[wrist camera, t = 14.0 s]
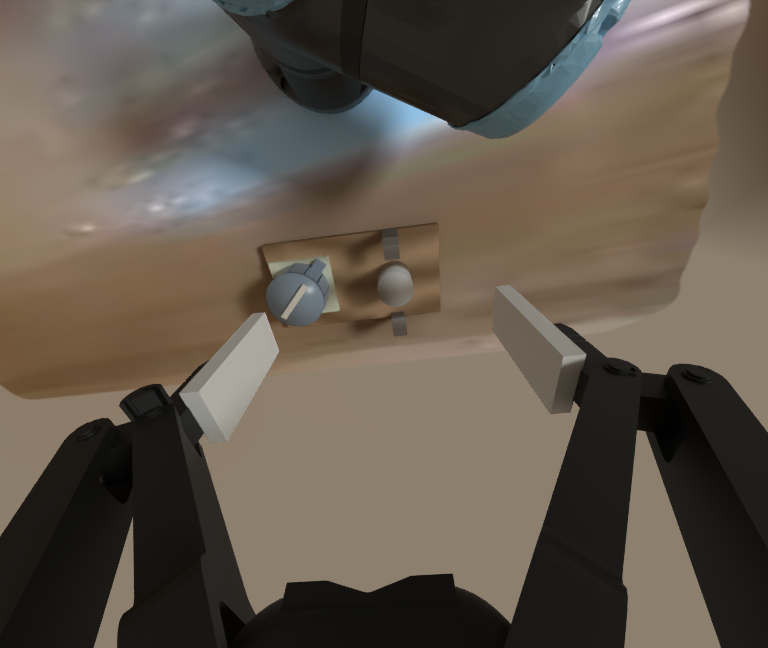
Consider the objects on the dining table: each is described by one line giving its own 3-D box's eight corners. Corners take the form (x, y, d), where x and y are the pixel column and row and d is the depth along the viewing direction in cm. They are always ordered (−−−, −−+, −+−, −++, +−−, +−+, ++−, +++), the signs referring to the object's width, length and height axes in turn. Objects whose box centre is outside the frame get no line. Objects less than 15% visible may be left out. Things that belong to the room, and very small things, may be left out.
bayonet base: (263, 242, 42) (242, 255, 36) (436, 221, 41) (446, 230, 34) (290, 325, 49) (276, 348, 43) (439, 309, 48) (447, 330, 41)
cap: (298, 244, 40) (286, 254, 36) (344, 277, 43) (339, 290, 38) (264, 299, 45) (250, 314, 40) (308, 326, 47) (299, 343, 42)
